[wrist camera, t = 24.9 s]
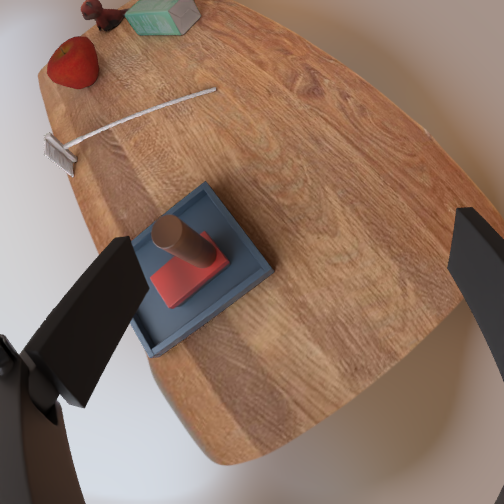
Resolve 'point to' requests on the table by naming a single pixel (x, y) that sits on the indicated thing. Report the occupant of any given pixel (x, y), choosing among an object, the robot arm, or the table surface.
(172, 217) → the brown cylinder on base
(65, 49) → the apple
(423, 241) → the table surface
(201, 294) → the tray
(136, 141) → the table surface
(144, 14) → the box
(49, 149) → the brush
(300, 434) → the table surface
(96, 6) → the stuffed fox
